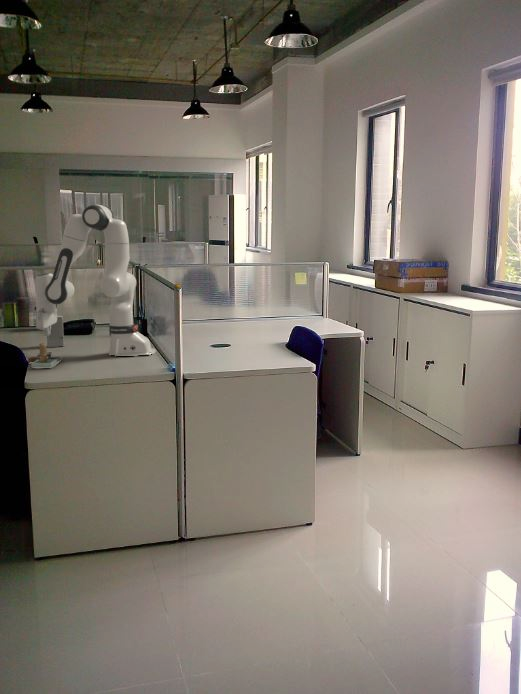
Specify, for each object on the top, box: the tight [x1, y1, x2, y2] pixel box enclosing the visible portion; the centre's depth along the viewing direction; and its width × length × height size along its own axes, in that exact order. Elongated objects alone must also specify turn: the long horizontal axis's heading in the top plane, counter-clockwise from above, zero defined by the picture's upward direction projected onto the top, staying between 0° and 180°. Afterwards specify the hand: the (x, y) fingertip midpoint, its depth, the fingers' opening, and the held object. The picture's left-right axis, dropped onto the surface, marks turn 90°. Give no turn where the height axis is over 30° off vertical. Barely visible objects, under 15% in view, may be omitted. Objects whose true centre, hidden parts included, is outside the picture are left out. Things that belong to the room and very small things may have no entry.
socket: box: [47, 356, 62, 362], centre depth 310 cm, size 6×6×2 cm
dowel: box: [38, 342, 48, 363], centre depth 301 cm, size 3×3×10 cm
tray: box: [30, 359, 57, 367], centre depth 302 cm, size 9×8×2 cm
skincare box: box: [46, 315, 65, 348], centre depth 348 cm, size 8×7×16 cm
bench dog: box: [27, 355, 40, 364], centre depth 309 cm, size 6×3×3 cm, turn 89°
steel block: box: [37, 351, 53, 357], centre depth 321 cm, size 6×5×2 cm
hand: (47, 335), depth 327 cm, fingers closed
